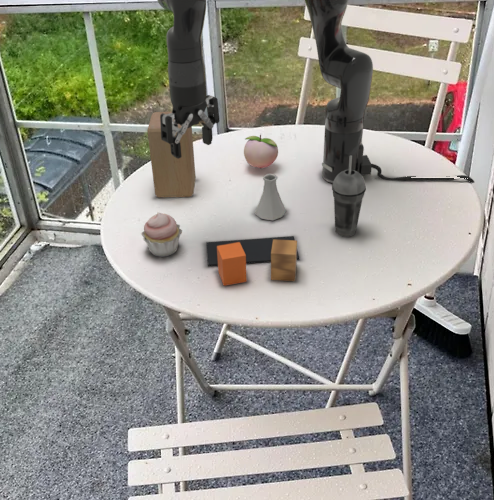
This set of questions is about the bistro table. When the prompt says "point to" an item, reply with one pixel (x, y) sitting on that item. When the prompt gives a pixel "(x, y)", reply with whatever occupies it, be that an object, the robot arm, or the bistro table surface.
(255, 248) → the mat
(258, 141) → the decorative fruit
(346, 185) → the beverage cup
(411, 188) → the bistro table surface
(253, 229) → the bistro table surface
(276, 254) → the oak block
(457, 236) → the bistro table surface
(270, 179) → the flask
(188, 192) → the wooden block
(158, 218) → the cupcake
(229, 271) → the orange block
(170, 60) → the robot arm
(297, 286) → the bistro table surface
